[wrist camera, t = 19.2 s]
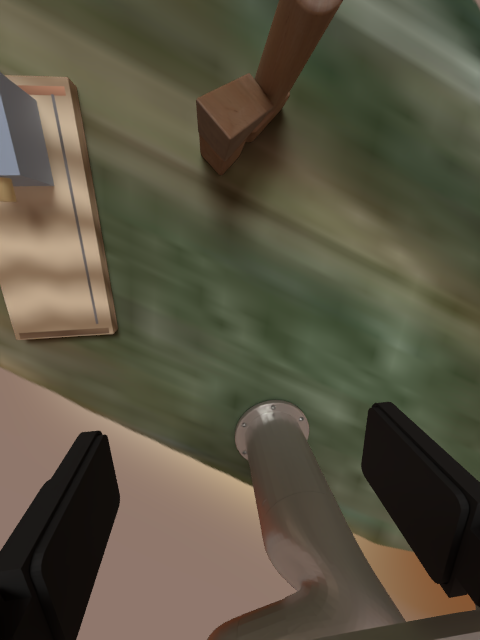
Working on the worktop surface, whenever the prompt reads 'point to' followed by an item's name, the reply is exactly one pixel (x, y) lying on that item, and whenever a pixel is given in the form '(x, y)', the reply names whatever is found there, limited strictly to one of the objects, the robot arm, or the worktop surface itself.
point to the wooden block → (261, 82)
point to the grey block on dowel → (20, 142)
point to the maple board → (56, 231)
